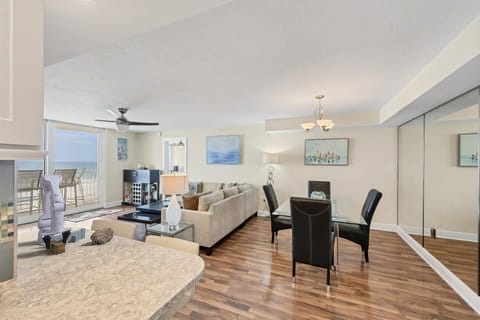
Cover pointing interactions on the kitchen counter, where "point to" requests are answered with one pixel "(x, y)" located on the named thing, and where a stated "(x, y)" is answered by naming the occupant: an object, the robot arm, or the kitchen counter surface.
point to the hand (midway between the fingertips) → (56, 246)
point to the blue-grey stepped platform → (71, 236)
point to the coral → (102, 235)
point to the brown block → (56, 247)
